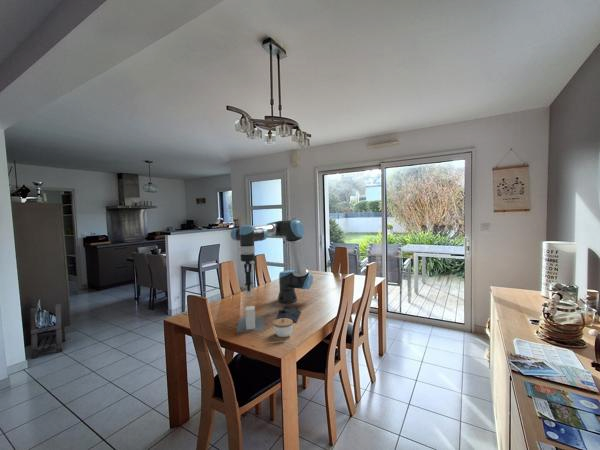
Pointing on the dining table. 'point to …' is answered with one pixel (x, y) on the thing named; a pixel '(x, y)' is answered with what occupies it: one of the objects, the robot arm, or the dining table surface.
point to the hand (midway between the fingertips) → (249, 296)
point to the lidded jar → (283, 327)
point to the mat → (258, 324)
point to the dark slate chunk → (289, 313)
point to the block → (250, 317)
